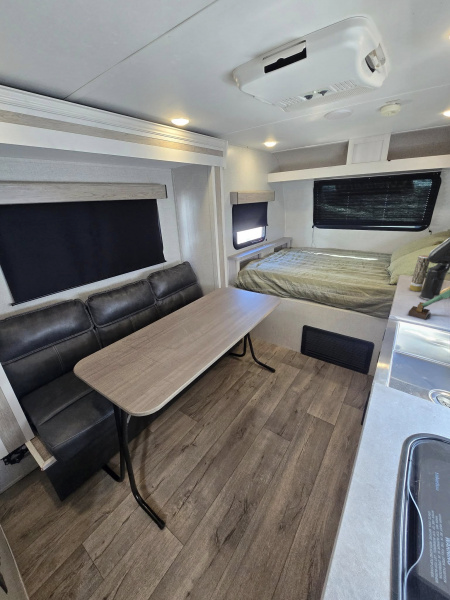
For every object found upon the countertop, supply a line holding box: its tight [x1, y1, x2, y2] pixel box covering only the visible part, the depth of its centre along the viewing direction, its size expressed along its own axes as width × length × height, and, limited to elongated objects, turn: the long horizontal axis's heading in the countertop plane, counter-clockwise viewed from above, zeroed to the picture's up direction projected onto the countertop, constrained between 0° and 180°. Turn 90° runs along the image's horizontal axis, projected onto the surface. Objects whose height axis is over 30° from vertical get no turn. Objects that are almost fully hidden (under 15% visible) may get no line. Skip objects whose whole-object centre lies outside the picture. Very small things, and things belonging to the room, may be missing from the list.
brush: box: [421, 285, 450, 309], centre depth 132 cm, size 5×4×19 cm
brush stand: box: [407, 301, 431, 320], centre depth 139 cm, size 9×8×7 cm
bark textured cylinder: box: [409, 254, 430, 292], centre depth 170 cm, size 7×7×25 cm
